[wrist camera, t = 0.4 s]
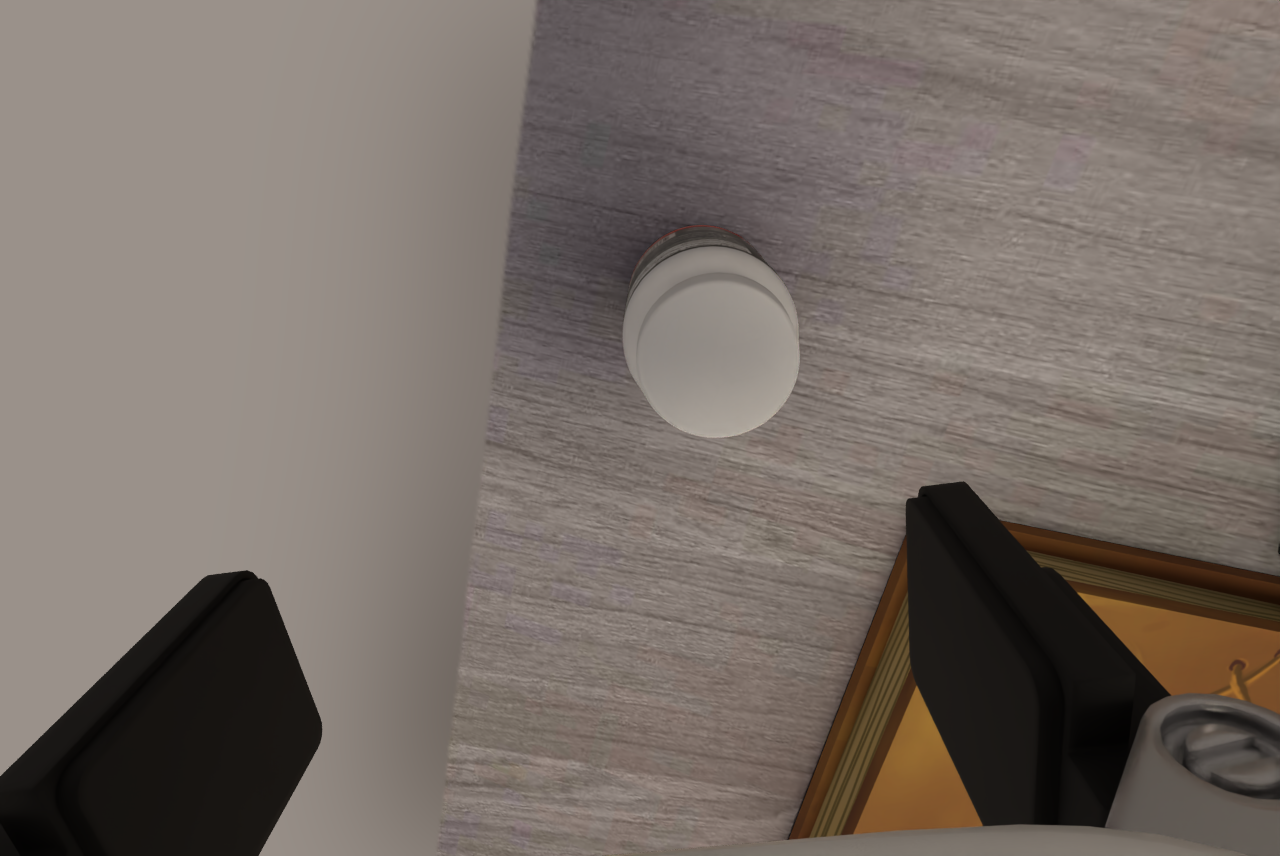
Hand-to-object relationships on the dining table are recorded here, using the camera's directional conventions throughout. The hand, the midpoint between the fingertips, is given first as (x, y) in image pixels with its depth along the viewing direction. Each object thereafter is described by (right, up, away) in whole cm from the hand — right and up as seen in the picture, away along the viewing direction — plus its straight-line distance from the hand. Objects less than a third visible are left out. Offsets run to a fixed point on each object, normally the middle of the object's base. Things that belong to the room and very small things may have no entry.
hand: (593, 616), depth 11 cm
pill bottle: (+3, +8, +20) cm, 22 cm away
